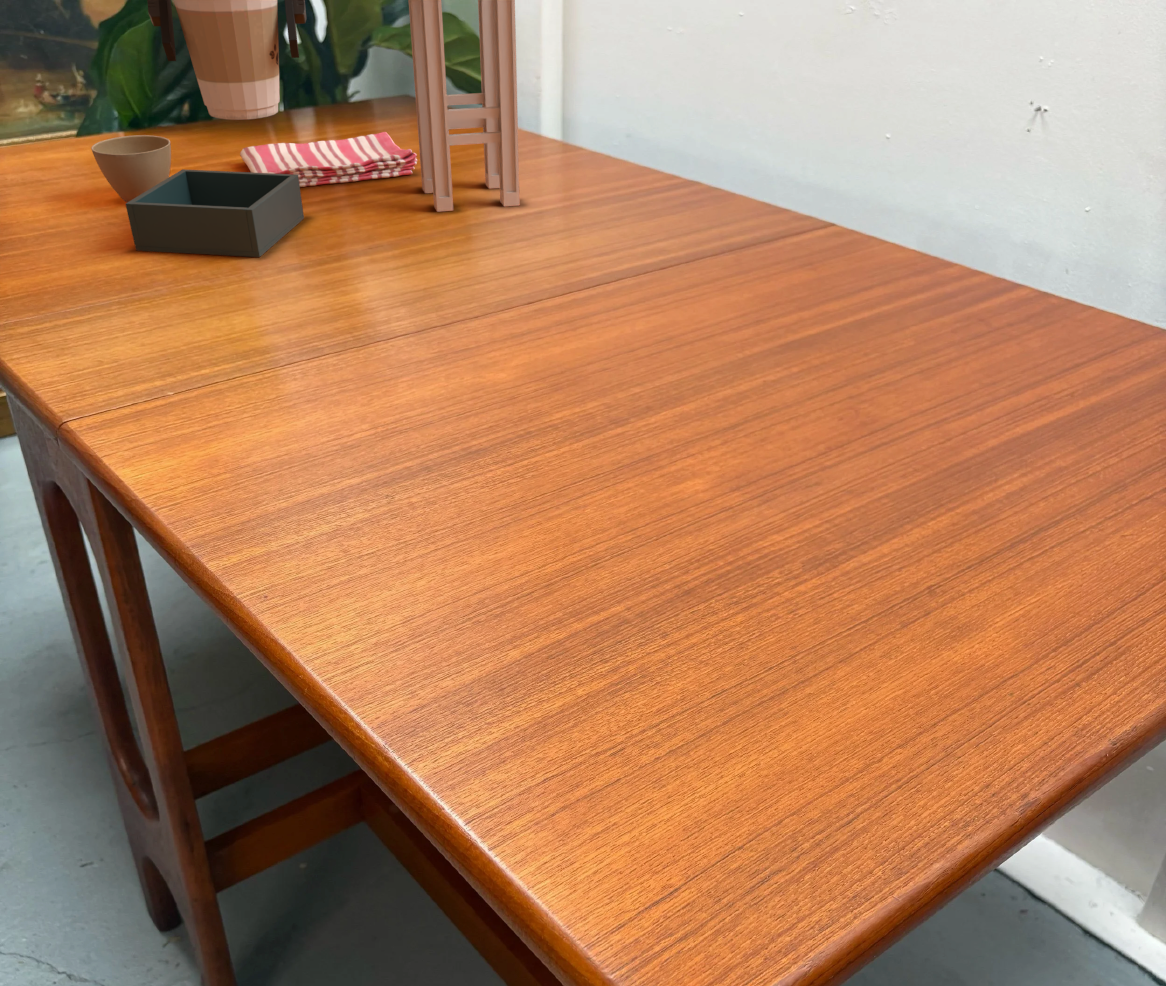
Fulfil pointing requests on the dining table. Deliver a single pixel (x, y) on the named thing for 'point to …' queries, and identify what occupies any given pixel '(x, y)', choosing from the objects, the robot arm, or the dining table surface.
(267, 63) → the coffee cup
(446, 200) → the stool
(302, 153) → the dish towel
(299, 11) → the robot arm
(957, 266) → the dining table surface
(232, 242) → the bin
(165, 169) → the beige bowl
